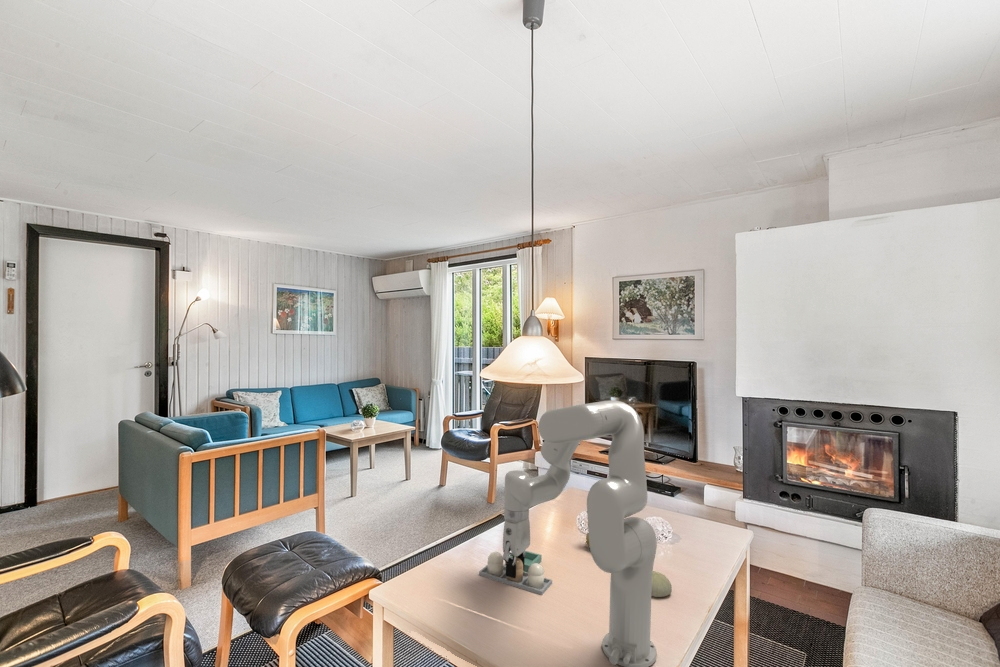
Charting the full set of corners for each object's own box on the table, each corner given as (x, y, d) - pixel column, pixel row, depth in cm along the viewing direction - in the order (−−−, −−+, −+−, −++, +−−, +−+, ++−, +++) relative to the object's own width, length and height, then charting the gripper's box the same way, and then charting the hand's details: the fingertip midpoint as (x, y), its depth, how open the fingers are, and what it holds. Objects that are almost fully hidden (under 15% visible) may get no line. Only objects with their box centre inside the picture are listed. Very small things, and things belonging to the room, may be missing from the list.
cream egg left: (498, 578, 146) (498, 557, 146) (484, 574, 148) (485, 553, 148) (505, 571, 150) (506, 551, 150) (492, 567, 152) (492, 547, 152)
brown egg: (518, 584, 142) (518, 563, 142) (504, 580, 145) (504, 559, 145) (525, 577, 147) (526, 556, 147) (511, 573, 149) (512, 552, 149)
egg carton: (541, 596, 137) (542, 591, 137) (478, 576, 148) (479, 571, 148) (552, 584, 144) (552, 579, 144) (491, 566, 154) (491, 561, 154)
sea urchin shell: (652, 596, 135) (641, 566, 141) (641, 605, 141) (631, 576, 146) (680, 592, 138) (668, 563, 143) (668, 600, 143) (657, 572, 149)
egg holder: (530, 574, 150) (530, 566, 150) (505, 567, 154) (505, 559, 154) (541, 562, 157) (541, 555, 157) (518, 556, 161) (518, 548, 161)
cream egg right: (539, 591, 139) (540, 569, 139) (524, 586, 141) (525, 565, 141) (546, 584, 143) (546, 562, 143) (531, 579, 146) (532, 558, 146)
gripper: (514, 525, 136) (513, 589, 136) (539, 506, 151) (538, 564, 151) (491, 520, 140) (490, 582, 140) (518, 502, 155) (516, 558, 155)
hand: (515, 572), depth 146 cm, fingers closed on brown egg, 4 cm apart
